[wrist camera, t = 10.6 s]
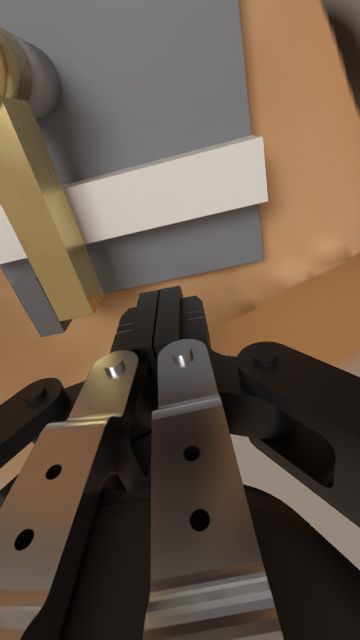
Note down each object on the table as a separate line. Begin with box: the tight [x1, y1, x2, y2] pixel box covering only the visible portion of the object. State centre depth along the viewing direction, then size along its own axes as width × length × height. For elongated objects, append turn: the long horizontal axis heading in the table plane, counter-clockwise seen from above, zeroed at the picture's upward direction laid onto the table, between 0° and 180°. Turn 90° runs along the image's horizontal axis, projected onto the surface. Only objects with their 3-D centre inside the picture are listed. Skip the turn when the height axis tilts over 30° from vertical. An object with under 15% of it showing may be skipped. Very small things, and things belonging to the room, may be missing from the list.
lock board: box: [0, 0, 268, 337], centre depth 16 cm, size 18×20×8 cm
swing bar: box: [0, 28, 104, 321], centre depth 14 cm, size 13×3×3 cm, turn 12°
